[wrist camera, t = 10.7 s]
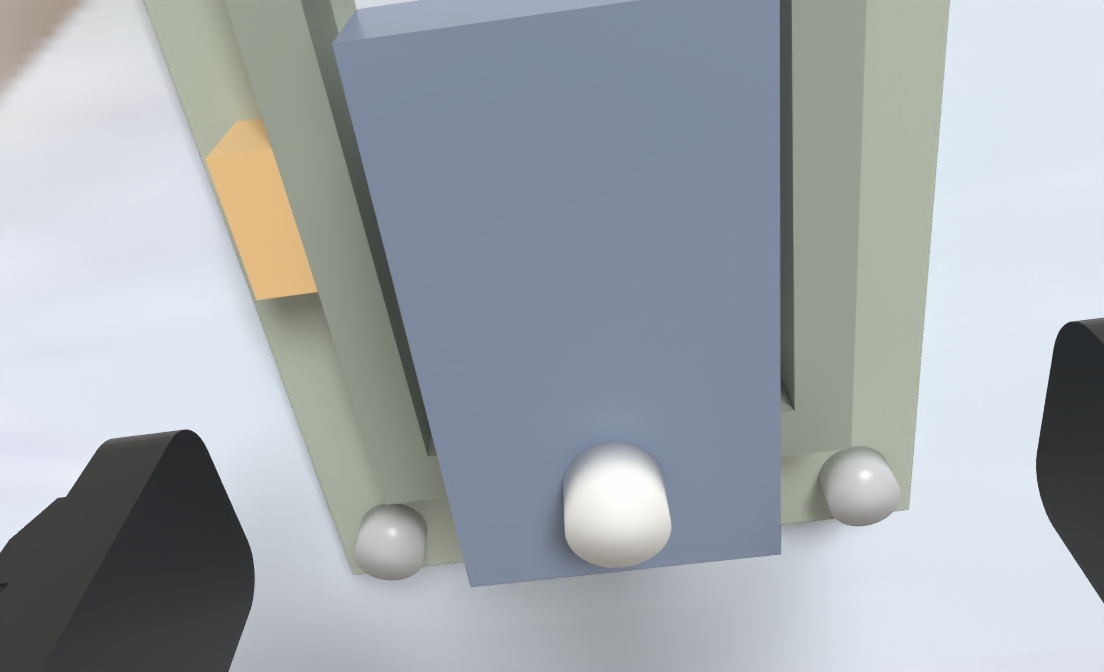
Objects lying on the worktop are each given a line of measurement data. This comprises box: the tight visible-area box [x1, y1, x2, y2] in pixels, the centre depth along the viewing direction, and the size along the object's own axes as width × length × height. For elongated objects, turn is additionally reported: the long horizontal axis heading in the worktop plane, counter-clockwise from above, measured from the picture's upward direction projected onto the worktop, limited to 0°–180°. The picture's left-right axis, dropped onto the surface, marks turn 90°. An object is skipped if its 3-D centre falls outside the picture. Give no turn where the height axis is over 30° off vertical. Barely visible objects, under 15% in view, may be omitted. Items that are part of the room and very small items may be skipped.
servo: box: [332, 0, 781, 587], centre depth 12 cm, size 4×10×7 cm, turn 8°
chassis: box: [144, 0, 950, 580], centre depth 15 cm, size 12×18×3 cm, turn 8°
